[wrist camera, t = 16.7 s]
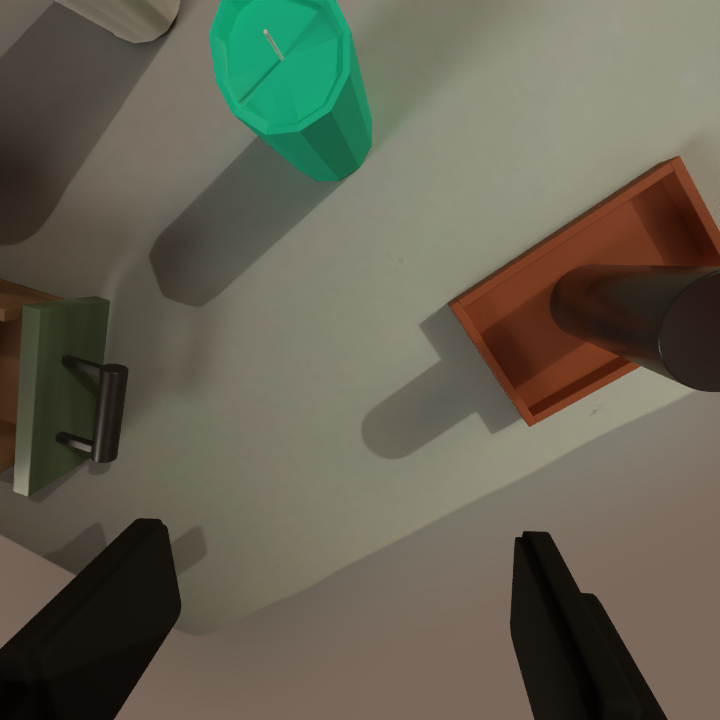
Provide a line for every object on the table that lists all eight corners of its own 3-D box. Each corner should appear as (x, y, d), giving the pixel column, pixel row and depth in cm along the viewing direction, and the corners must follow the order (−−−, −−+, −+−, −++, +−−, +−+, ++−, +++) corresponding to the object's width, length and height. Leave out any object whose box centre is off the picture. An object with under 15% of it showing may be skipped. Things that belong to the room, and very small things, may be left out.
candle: (294, 70, 25) (201, -89, 14) (384, 95, 25) (365, -47, 14) (274, 169, 27) (177, 100, 15) (359, 192, 27) (323, 140, 15)
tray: (521, 417, 29) (529, 427, 27) (447, 303, 28) (450, 306, 26) (732, 299, 26) (757, 302, 24) (659, 163, 24) (679, 155, 23)
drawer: (165, 317, 29) (108, 330, 24) (141, 472, 33) (86, 516, 27) (-68, 245, 30) (-178, 241, 24) (-67, 404, 34) (-162, 434, 28)
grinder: (571, 349, 27) (693, 414, 16) (535, 292, 27) (635, 315, 15) (638, 310, 26) (823, 349, 15) (603, 249, 26) (767, 239, 14)
